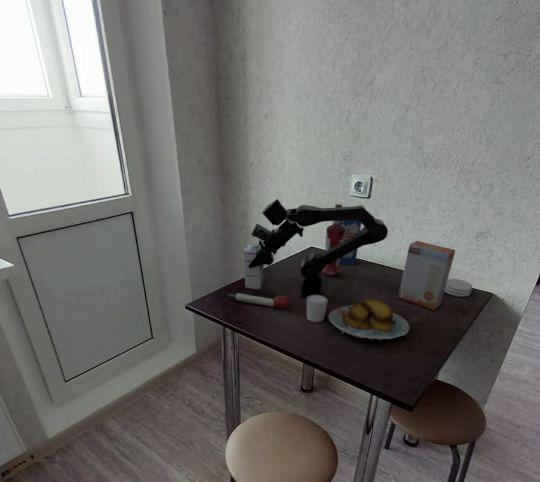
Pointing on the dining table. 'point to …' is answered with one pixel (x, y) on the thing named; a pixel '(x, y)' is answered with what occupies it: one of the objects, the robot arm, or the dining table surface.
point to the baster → (263, 300)
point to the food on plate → (369, 320)
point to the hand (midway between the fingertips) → (250, 263)
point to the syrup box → (252, 269)
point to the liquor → (334, 244)
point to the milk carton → (350, 230)
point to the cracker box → (426, 274)
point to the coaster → (458, 288)
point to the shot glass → (316, 308)
